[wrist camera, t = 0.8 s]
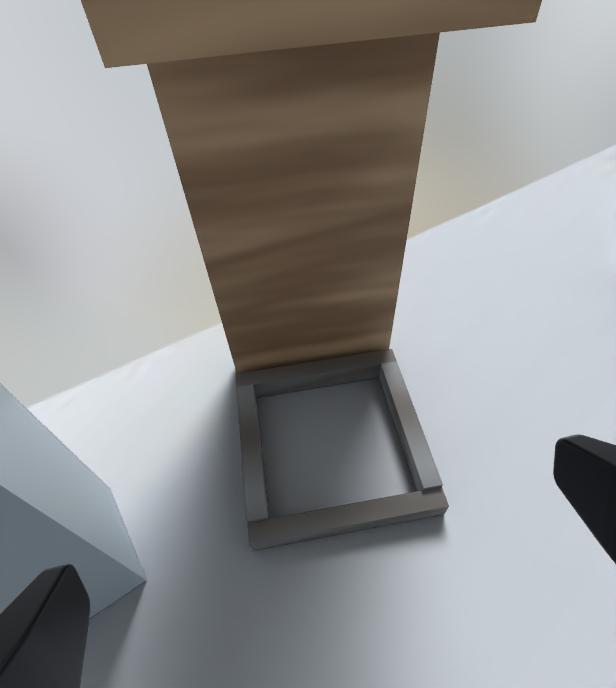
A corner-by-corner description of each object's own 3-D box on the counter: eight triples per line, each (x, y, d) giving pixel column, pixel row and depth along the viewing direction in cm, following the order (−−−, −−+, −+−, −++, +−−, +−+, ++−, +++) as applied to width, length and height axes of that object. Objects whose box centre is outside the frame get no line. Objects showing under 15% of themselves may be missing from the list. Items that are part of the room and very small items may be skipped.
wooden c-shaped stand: (444, 514, 23) (754, -4, 6) (252, 550, 22) (0, 76, 5) (381, 340, 30) (441, -102, 14) (237, 363, 29) (115, -74, 13)
